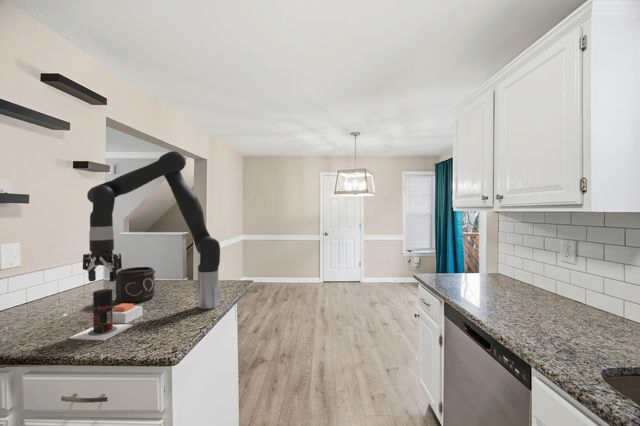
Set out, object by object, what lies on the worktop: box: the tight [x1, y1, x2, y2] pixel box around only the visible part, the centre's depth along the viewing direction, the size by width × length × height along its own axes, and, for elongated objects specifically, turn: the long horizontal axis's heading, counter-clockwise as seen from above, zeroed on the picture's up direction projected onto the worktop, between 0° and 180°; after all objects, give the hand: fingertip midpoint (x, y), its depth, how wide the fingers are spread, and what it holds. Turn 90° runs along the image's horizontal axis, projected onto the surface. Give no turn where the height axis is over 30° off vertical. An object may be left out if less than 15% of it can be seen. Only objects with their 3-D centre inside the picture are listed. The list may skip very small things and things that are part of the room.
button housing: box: [113, 305, 144, 324], centre depth 130 cm, size 10×10×4 cm
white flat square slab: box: [68, 323, 134, 341], centre depth 116 cm, size 14×14×1 cm
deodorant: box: [92, 288, 114, 334], centre depth 116 cm, size 6×6×15 cm
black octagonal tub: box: [114, 266, 156, 304], centre depth 158 cm, size 18×18×16 cm
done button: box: [112, 303, 135, 312], centre depth 130 cm, size 5×5×3 cm
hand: (102, 281), depth 115 cm, fingers open, 8 cm apart
